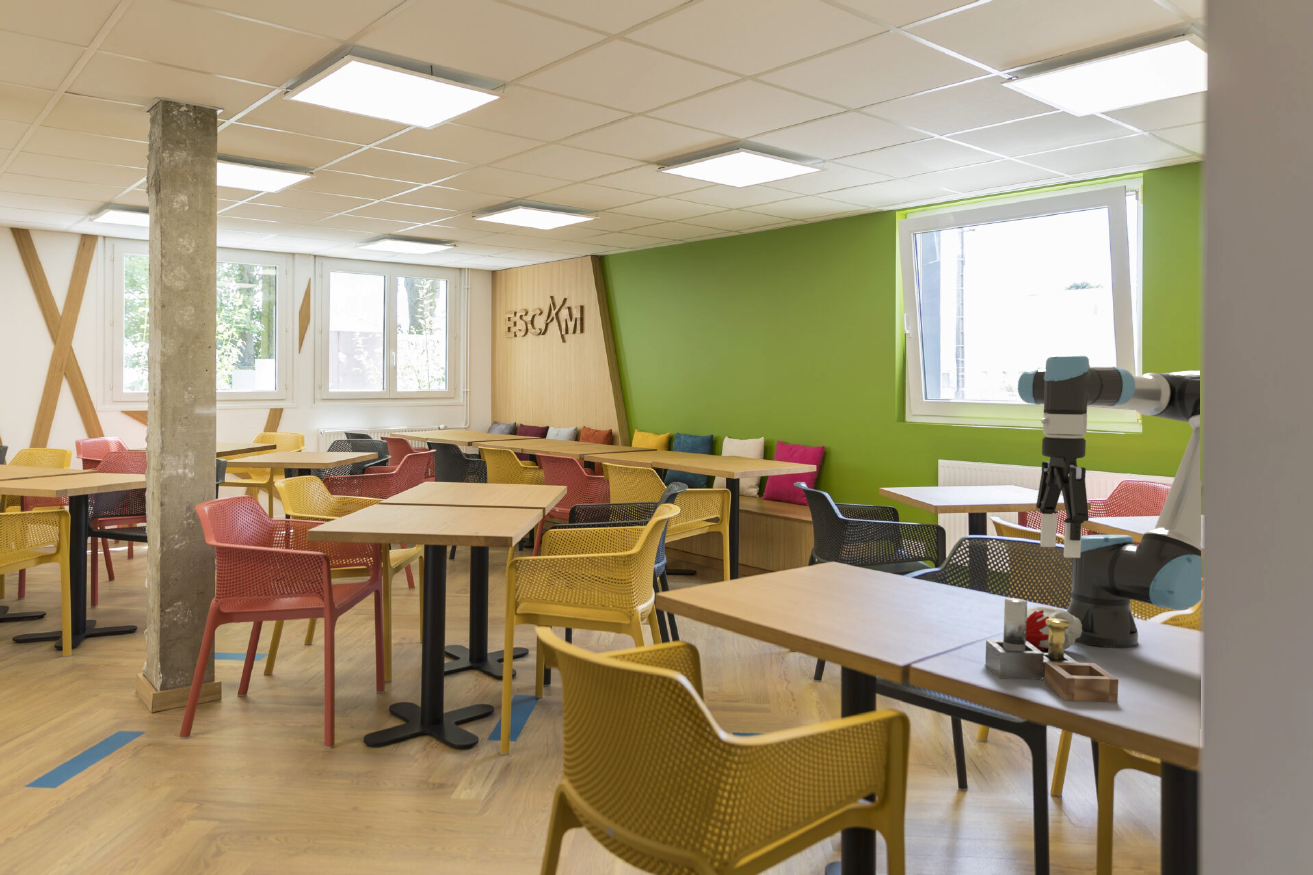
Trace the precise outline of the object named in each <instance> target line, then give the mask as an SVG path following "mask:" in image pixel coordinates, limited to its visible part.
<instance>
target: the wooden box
mask: <svg viewBox="0 0 1313 875" xmlns="http://www.w3.org/2000/svg"><path fill="white" fill-rule="evenodd" d="M1044 684H1045V685H1046V686H1047V687H1049V688H1050V689H1051V690H1052V691H1053V692H1055V693H1056V694H1057V695H1058V696H1060V697H1061V698H1062V699H1063V700H1064V701H1074V702H1075V701H1076V702H1077V701H1078V702H1107V703H1109V702H1112V703H1114V702H1115V703H1118V697H1119V696H1118V695H1119V679H1118V678H1117V677H1115V676H1114V675H1112V674H1111V673H1109V671H1107V670H1105V669H1103V668H1102V667H1100V666H1099V665H1098V664H1096V663H1095V662H1078V663H1068V662H1045V678H1044Z"/></svg>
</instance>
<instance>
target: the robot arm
mask: <svg viewBox="0 0 1313 875" xmlns="http://www.w3.org/2000/svg"><path fill="white" fill-rule="evenodd" d="M1018 378H1019V379H1018V381H1017V392H1018V396H1019V397H1020V399H1021V400H1022V401H1023V402H1024V403H1025V404H1033V405H1036V406H1037V405H1043V418H1041V420H1040V421H1041V424H1042V425H1043V426H1042V433H1043V434H1044V435H1046V436H1043V438H1042V440H1041V442H1042V444H1041V454H1042V456H1043V457H1046V458H1050V459H1049V461H1041V474H1040V481H1039V486H1038V487H1039V488H1038V492H1037V500H1036V506H1035V507H1036V509H1039V512H1040V513H1041V516H1040V517H1041V518H1040V519H1041V520H1040V543H1039V544H1040V545H1039V547H1041V548H1056V546H1057V526H1058V525H1057V523H1058V522H1057V521H1058V520H1057V519H1058V515H1057V514H1058V513H1059V511H1058V509H1057V505H1058V503H1059V499H1060V497H1061V495H1062V498H1063V503H1064V509H1065V513H1066V517H1067V518H1065V519H1064V520H1063V522H1064V539H1063V541H1064V542H1063V558H1069V559H1070V558H1072V560H1071V561H1072V564H1071V566H1072V567H1071V597H1070V603H1069V605H1068V607H1067V610H1066V611H1067V612H1068V613H1070V614H1071V615H1073V616H1075V617H1076V618H1079V620H1080V621H1081V623H1080V624H1082V632H1081V636H1080V637H1079V638H1076V639H1075V642H1076V643H1077V642H1078V643H1080V644H1085V645H1090V646H1096V647H1097V646H1098V647H1102V648H1103V647H1105V648H1130V647H1135V646H1137V645H1138V644H1139V631H1138V628H1137V626H1136V625H1137V624H1136V622H1135V619H1134V615H1133V612H1132V608H1131V600H1133V601H1136V602H1140V603H1143V604H1148V605H1151V606H1156V607H1158V608H1159V609H1169V610H1176V611H1184V610H1189V608H1193V607H1194V606H1196V605H1198V604H1199V602H1201V601H1202V599H1201V547H1202V545H1201V544H1202V541H1201V480H1200V370H1196V369H1194V370H1193V369H1192V370H1182V371H1173V372H1162V373H1161V372H1159V373H1157V372H1147V373H1144V374H1141V375H1139V376H1137V375H1133V374H1132V373H1131V372H1130V371H1129V370H1127V369H1125V368H1121V367H1116V366H1109V367H1108V366H1091V365H1090V359H1089V358H1088V356H1086V355H1081V354H1080V355H1077V354H1076V355H1073V354H1071V355H1067V354H1065V355H1051V356H1049V357H1047V359H1046V362H1045V368H1042V367H1038V368H1029V369H1027V370H1025V371H1024V372H1022V374H1021V375H1020V376H1019V377H1018ZM1088 408H1096V409H1097V408H1099V409H1100V408H1101V409H1115V410H1125V411H1126V410H1127V411H1128V410H1129V411H1135V412H1137V413H1139V414H1140V415H1141V416H1149V417H1156V418H1161V419H1162V418H1163V419H1166V420H1167V419H1168V420H1171V421H1172V420H1173V421H1178V422H1182V423H1183V422H1185V423H1188V425H1189V426H1190V427H1191V428H1192V430H1193V431H1192V433H1191V436H1190V438H1189V441H1188V443H1187V445H1186V448H1185V450H1184V453H1183V455H1182V458H1181V461H1180V463H1179V466H1178V468H1177V471H1176V474H1175V476H1174V478H1173V481H1172V484H1171V486H1170V489H1169V491H1168V494H1167V496H1166V499H1165V502H1164V504H1163V506H1162V509H1161V512H1160V514H1159V516H1158V520H1157V522H1156V525H1155V527H1154V528H1153V529H1152V530H1149V531H1147V532H1144V533H1143V534H1142V537H1141V540H1140V542H1139V544H1134V543H1135V541H1134V537H1133V536H1132V535H1127V534H1090V535H1089V534H1085V535H1082V525H1083V523H1084V522H1088V521H1089V509H1088V495H1087V486H1086V473H1087V469H1086V467H1079V466H1078V463H1077V459H1082V458H1084V457H1085V456H1086V449H1087V448H1086V446H1087V441H1086V439H1085V438H1084V436H1086V435H1087V433H1088V432H1087V429H1088V428H1087V426H1088V413H1087V412H1088Z"/></svg>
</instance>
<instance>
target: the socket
mask: <svg viewBox="0 0 1313 875" xmlns="http://www.w3.org/2000/svg"><path fill="white" fill-rule="evenodd" d="M1045 662H1068V663H1079V662H1078V661H1076V660H1075V659H1073V658H1072V657H1070V656H1069V654H1066V653H1065V652H1064V658H1063V659H1054V658H1050V657H1048V652H1042V651H1041V650H1039V649H1037V648H1036V647H1034V646H1033V645H1032V644H1030V643H1029V642H1028V641H1026V647H1025V651H1007V650H1004V649H1003V639H1001V640H998V639H986V640H985V664H984V665H985V666H986V667H987V668H988V669H989V670H991V672H993V673H994V674H995V675H996V676H997V677H998V678H999V679H1008V680H1009V679H1010V680H1011V679H1012V680H1013V679H1014V680H1017V679H1018V680H1043V679H1045Z"/></svg>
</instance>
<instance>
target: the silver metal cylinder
mask: <svg viewBox="0 0 1313 875" xmlns="http://www.w3.org/2000/svg"><path fill="white" fill-rule="evenodd" d="M1003 609H1004V612H1003V615H1004V616H1003V639H1002V640H1003V649H1004V650H1007V651H1025V647H1026V620H1027V609H1028V601H1027V600H1025V599H1022V598H1005V599H1004V608H1003Z"/></svg>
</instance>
